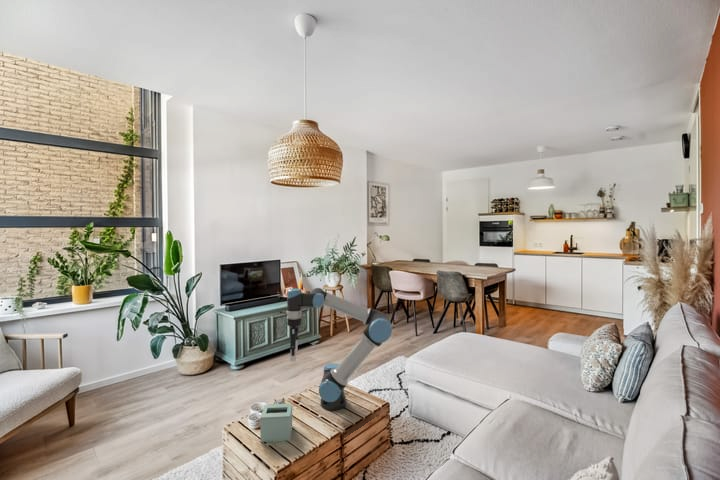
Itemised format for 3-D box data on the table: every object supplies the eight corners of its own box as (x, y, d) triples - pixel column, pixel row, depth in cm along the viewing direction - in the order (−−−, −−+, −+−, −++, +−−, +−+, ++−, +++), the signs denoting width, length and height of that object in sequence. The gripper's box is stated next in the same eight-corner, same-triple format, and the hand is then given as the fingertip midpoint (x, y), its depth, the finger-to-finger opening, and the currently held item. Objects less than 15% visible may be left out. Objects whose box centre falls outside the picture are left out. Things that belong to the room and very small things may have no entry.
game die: (281, 421, 190) (282, 413, 184) (267, 414, 192) (268, 406, 186) (289, 407, 197) (291, 398, 191) (276, 400, 199) (277, 391, 192)
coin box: (292, 425, 180) (292, 403, 179) (290, 440, 168) (290, 416, 168) (264, 427, 178) (264, 404, 178) (260, 441, 167) (260, 417, 166)
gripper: (289, 311, 200) (289, 348, 201) (284, 324, 175) (284, 365, 176) (302, 311, 201) (302, 347, 202) (299, 324, 176) (299, 365, 177)
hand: (294, 356), depth 189 cm, fingers open, 13 cm apart
